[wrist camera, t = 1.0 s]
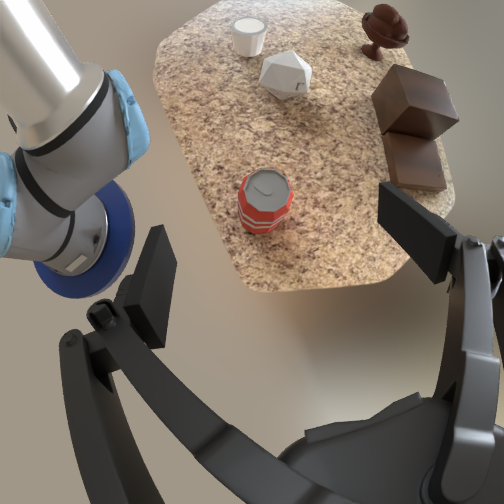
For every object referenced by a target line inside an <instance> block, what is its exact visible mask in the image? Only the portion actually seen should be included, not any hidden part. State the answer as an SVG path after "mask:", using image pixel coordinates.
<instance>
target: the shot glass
mask: <svg viewBox="0 0 504 504" xmlns="http://www.w3.org/2000/svg"><path fill="white" fill-rule="evenodd" d="M231 32H232V39H233V45H234V50H235V52H236V53H237V54H238V55H240V56H244V57H253V56H256V55H258V54H260V52H261V51H262V47H263V43H264V39H265V35H266V32H267V23H266V22H265V21H264V20H262V19H260V18H257V17H251V16H245V17H240V18H237V19H235V20H234V21H233V22H232V23H231Z"/></svg>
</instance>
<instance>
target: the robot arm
mask: <svg viewBox="0 0 504 504" xmlns="http://www.w3.org/2000/svg"><path fill="white" fill-rule="evenodd" d="M0 107H1V108H2V109H3V110H4V111H5V112H6V113H7V115H8V118H9V121H10V123H11V125H12V127H13V129H14V131H15V132H16V134H17V143H18V145H19V146H20V147H19V148H18V149H17V150H16V151H15V152H14V153H13V154H12V155H11V156H10V155H9V154H8V153H6V152H2V153H1V152H0V257H5V258H14V259H22V260H32V261H39V262H42V263H43V264H44V265H46V266H48V267H49V268H50V269H51V270H53V271H54V272H56V273H58V274H61V275H65V276H78V275H81V274H84V273H86V272H88V271H89V270H91V269H92V268H93V267H94V266H95V265H96V264H97V263H98V261H99V260H100V259H101V257H102V255H103V253H104V251H105V249H106V246H107V243H108V239H109V233H110V221H109V216H108V212H107V209H106V207H105V205H104V203H103V202H102V200H101V199H100V198H99V197H98V196H97V195H95V193H96V192H98V191H99V190H100V189H101V188H103V187H104V186H105V185H106V184H108V183H109V182H110V181H112V180H113V179H114V178H115V177H117V176H118V175H119V174H121V173H122V172H123V171H125V170H127V169H128V168H129V167H130V166H131V164H132V163H133V162H135V161H136V160H137V159H138V158H140V157H141V156H142V155H143V154H144V153H145V152H146V151H147V150H148V148H149V145H150V134H149V130H148V127H147V124H146V121H145V119H144V116H143V114H142V112H141V109H140V107H139V105H138V103H137V102H136V101H135V98H134V96H133V93H132V91H131V89H130V87H129V85H128V83H127V82H126V80H125V78H124V77H123V76H122V74H121V73H120V72H119V71H118V70H115V69H114V70H111V71H107V72H104V70H103V69H102V67H101V66H100V65H98V64H96V63H81V62H80V61H79V59H78V58H77V56H76V54H75V53H74V51H73V50H72V48H71V47H70V45H69V44H68V42H67V41H66V39H65V37H64V35H63V34H62V32H61V31H60V29H59V28H58V26H57V24H56V23H55V21H54V19H53V18H52V16H51V14H50V13H49V11H48V9H47V8H46V6H45V4H44V3H43V1H42V0H0ZM13 120H14V121H15V122H16V123H17V127H16V125H15V124H14V122H13ZM377 222H378V223H379V224H380V225H381V226H382V227H383V228H384V229H385V230H386V231H387V232H388V233H389V234H390V235H391V237H392V238H393V239H394V240H395V241H396V242H397V243H398V244H399V245H400V246H401V247H402V248H403V249H404V250H405V251H406V253H407V254H408V255H409V256H410V257H411V258H412V259H413V260H414V261H415V263H416V264H418V266H419V267H420V268H421V269H422V271H423V272H424V273H425V274H426V275H427V276H428V278H429V279H430V280H431V281H432V282H433V283H434V284H438V283H440V282H443V281H445V279H446V276H447V272H448V271H449V272H450V273H451V274H452V278H451V281H450V284H449V287H448V290H447V293H449V290H450V296H449V309H448V320H447V328H446V336H445V343H444V349H443V355H442V361H441V366H440V372H439V376H438V381H437V385H436V389H435V392H434V395H433V397H432V398H431V397H426V398H421V396H420V394H419V392H416V393H414V394H412V395H410V396H407V397H405V398H403V399H400V400H398V401H395V402H393V403H392V404H391V405H389V406H388V407H386V408H385V409H384V410H382V411H381V412H379V413H377V414H376V415H374V416H373V417H371V418H370V419H367V420H360V421H347V422H334V423H331V424H327V425H323V426H320V427H316V428H312V429H308V430H305V437H303V438H301V439H299V440H297V441H296V442H294V443H292V444H291V445H290V446H288V447H287V448H286V449H285V450H284V451H283V452H282V453H281V454H280V455H279V456H278V457H277V458H276V457H275V456H273V455H272V454H271V453H269V452H268V451H266V450H265V449H264V448H262V447H261V446H260V445H258V444H257V443H255V442H254V441H253V440H252V439H250V438H249V437H248V436H246V435H245V434H244V433H242V432H241V431H240V430H239V429H237V428H236V427H234V426H233V425H231V424H228V423H226V422H225V421H224V420H223V419H222V418H220V417H219V416H218V415H217V414H216V413H215V412H214V411H212V410H211V409H210V408H209V407H208V406H207V405H206V404H205V403H203V402H202V401H201V400H200V399H199V398H198V397H197V396H196V395H195V394H194V393H192V391H190V390H189V389H188V388H187V387H186V386H185V385H184V384H183V383H182V382H181V381H180V380H179V379H178V378H177V377H176V376H175V375H174V374H173V373H172V372H171V371H170V370H169V369H168V368H167V367H166V366H165V365H164V364H163V363H162V362H161V361H160V360H159V358H158V357H157V356H156V355H155V354H154V353H153V352H152V351H151V350H150V349H158V348H165V342H166V334H167V326H168V318H169V312H170V305H171V298H172V291H173V284H174V279H175V273H176V267H177V261H176V258H175V255H174V253H173V250H172V248H171V245H170V242H169V239H168V236H167V234H166V231H165V228H164V225H163V224H162V225H158V226H154V227H151V229H150V231H149V234H148V237H147V239H146V241H145V244H144V247H143V249H142V252H141V255H140V257H139V260H138V263H137V265H136V268H135V271H134V274H132V275H127V276H126V277H125V278H124V279H123V280H122V282H121V283H120V285H119V288H118V291H117V293H116V297H115V299H114V302H112V301H111V300H110V299H101V300H99V301H97V302H95V303H94V304H93V305H92V306H90V308H89V309H88V311H87V314H86V315H87V319H88V321H89V322H90V323H91V325H92V326H93V328H94V329H95V331H93V332H90V333H88V334H86V335H83V334H82V333H81V331H79V330H78V329H73V330H70V331H68V332H67V333H65V334H64V335H63V337H62V338H61V340H60V343H59V354H60V368H61V377H62V386H63V395H64V401H65V408H66V414H67V420H68V425H69V430H70V435H71V439H72V444H73V448H74V452H75V456H76V459H77V463H78V467H79V470H80V474H81V477H82V480H83V483H84V486H85V489H86V492H87V495H88V498H89V500H90V503H91V504H165V503H164V501H163V499H162V497H161V495H160V493H159V491H158V489H157V488H156V486H155V484H154V482H153V480H152V478H151V476H150V474H149V472H148V469H147V467H146V465H145V463H144V461H143V459H142V456H141V454H140V452H139V450H138V447H137V445H136V442H135V440H134V438H133V435H132V432H131V430H130V427H129V425H128V422H127V419H126V417H125V414H124V411H123V408H122V405H121V402H120V399H119V396H118V393H117V390H116V387H115V383H114V380H113V376H112V373H111V372H114V371H116V370H119V369H121V370H122V371H123V372H124V374H125V375H126V377H127V378H128V380H129V381H130V382H131V384H132V385H133V386H134V388H135V389H136V390H137V391H138V393H139V394H140V395H141V397H142V398H143V399H144V400H145V402H146V403H147V404H148V405H149V407H150V408H151V409H152V410H153V412H154V413H155V414H156V415H157V416H158V417H159V419H160V420H161V421H162V422H163V423H164V424H165V425H166V427H167V428H168V429H169V430H170V431H171V432H172V433H173V434H174V435H175V437H176V438H177V439H178V440H179V441H180V442H181V443H182V444H183V445H184V446H185V447H186V448H187V449H188V450H189V451H190V452H191V453H192V454H193V456H194V458H195V459H196V460H197V461H198V462H199V463H200V464H201V465H202V466H203V467H204V468H205V469H206V470H207V471H208V472H210V473H211V474H212V475H213V476H214V477H215V478H216V479H217V480H218V481H220V482H221V483H222V484H223V485H224V486H225V487H227V488H228V489H229V490H230V491H231V492H233V493H234V494H235V495H236V496H237V497H239V498H240V499H241V500H242V501H244V502H245V503H246V504H504V428H503V427H500V426H498V425H496V424H495V418H496V411H497V403H498V393H499V379H500V360H499V358H498V357H494V355H493V346H494V345H493V343H494V342H493V341H494V337H493V324H494V328H495V332H496V336H497V340H498V344H499V348H500V353H501V358H502V363H503V368H504V237H503V236H495V237H493V240H492V243H491V244H483V242H482V241H481V240H480V239H478V238H477V237H474V236H469V235H468V236H463V235H462V234H461V233H459V232H458V231H457V230H456V229H455V228H454V227H453V226H450V224H449V223H448V222H446V221H445V220H444V219H443V218H441V217H440V216H438V215H436V214H434V213H431V212H430V211H429V210H427V209H426V208H425V207H423V206H422V205H421V204H419V203H418V202H417V201H415V200H414V199H413V198H411V197H410V196H409V195H407V194H406V193H404V192H403V191H402V190H400V189H399V188H397V187H396V186H395V185H393V184H392V183H390V182H383V183H379V198H378V219H377ZM501 278H502V279H501ZM144 342H145V343H146V344H145V343H144Z"/></svg>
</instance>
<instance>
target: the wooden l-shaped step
mask: <svg viewBox="0 0 504 504" xmlns="http://www.w3.org/2000/svg"><path fill="white" fill-rule="evenodd" d="M371 97H372V100H373V104H374V108H375V111H376V115H377V119H378V123H379V127H380V131H381V135H384V136H383V137H382V140H383V144H384V149H385V154H386V159H387V164H388V169H389V175H390V181H391V183H392V184H393V185H395V186H396V187H397V188H404V189H415V190H424V191H434V192H441V191H443V190H445V189H447V187H446V181H445V177H444V172H443V168H442V163H441V159H440V155H439V151H438V147H437V144H436V141H433V140H435V139H436V138H437V137H439V136H440V135H441V134H443V133H444V132H445V131H446V130H448V129H449V128H450V127H452V126H453V125H454V124H456V123H457V122H458V121H459V117H458V115H457V112H456V109H455V107H454V104H453V102H452V99H451V97H450V94H449V92H448V90H447V87H446V85H445V83H444V81H443V80H442V79H439V78H436V77H434V76H431V75H428V74H425V73H422V72H419V71H416V70H413V69H410V68H407V67H404V66H400V65H397V64H393V65H392V67H391V68H390V70H389V71H388V73H387V74H386V75H385V77H384V78H383V80H382V81H381V83H380V84H379V85H378V87H377V88H376V90H375V91H374V93H373V94H372V95H371Z"/></svg>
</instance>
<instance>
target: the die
mask: <svg viewBox="0 0 504 504" xmlns="http://www.w3.org/2000/svg"><path fill="white" fill-rule="evenodd" d="M311 72H312V68H311V67H310V66H309V65H308V64H307V63H306V62H305V61H304V60H302V59H301V58H300V57H299V56H298V55H297V54H296V53H295V52H293V51H292V50H289V51H285V52H282V53H279V54H276V55H273V56H270V57H267V58H264V61H263V66H262V70H261V75H260V79H259V84H260V85H261V86H263V87H264V88H265V89H267V90H268V91H269V92H271V93H272V94H273V95H274V96H276V97H277V98H278V99H280V100H283V99H287V98H291V97H295V96H299V95H303V94H308V89H309V83H310V78H311Z"/></svg>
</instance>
